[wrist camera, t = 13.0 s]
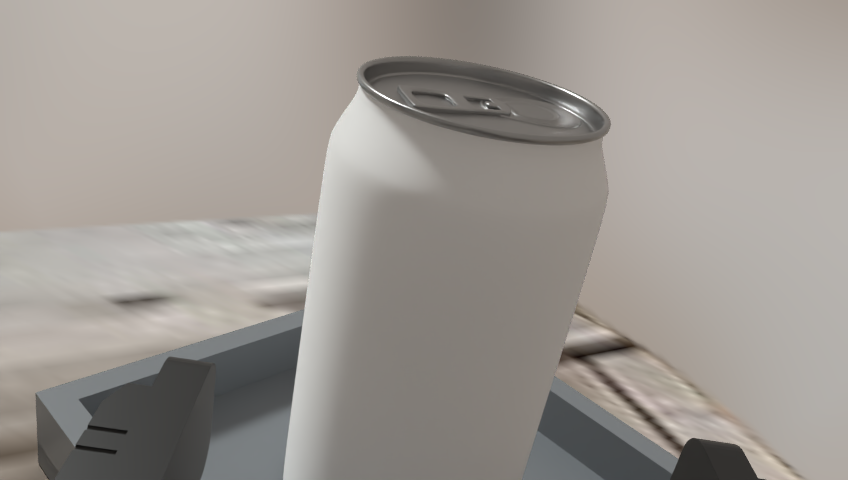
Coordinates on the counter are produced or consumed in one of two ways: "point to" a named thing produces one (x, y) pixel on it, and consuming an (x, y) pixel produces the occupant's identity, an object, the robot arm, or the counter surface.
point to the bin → (272, 400)
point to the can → (443, 272)
